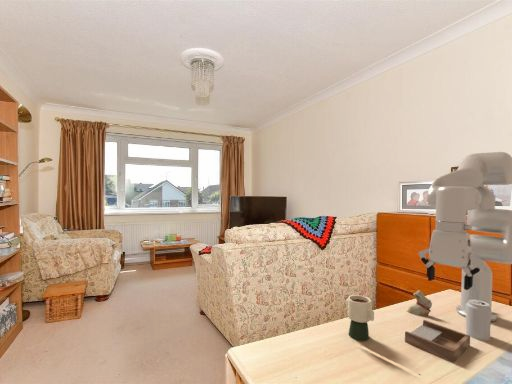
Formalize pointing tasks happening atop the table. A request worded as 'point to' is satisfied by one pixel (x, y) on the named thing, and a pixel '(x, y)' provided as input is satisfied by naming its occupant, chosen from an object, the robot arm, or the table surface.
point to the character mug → (359, 316)
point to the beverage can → (478, 319)
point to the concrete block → (428, 333)
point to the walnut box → (441, 342)
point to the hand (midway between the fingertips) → (448, 284)
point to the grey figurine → (420, 305)
